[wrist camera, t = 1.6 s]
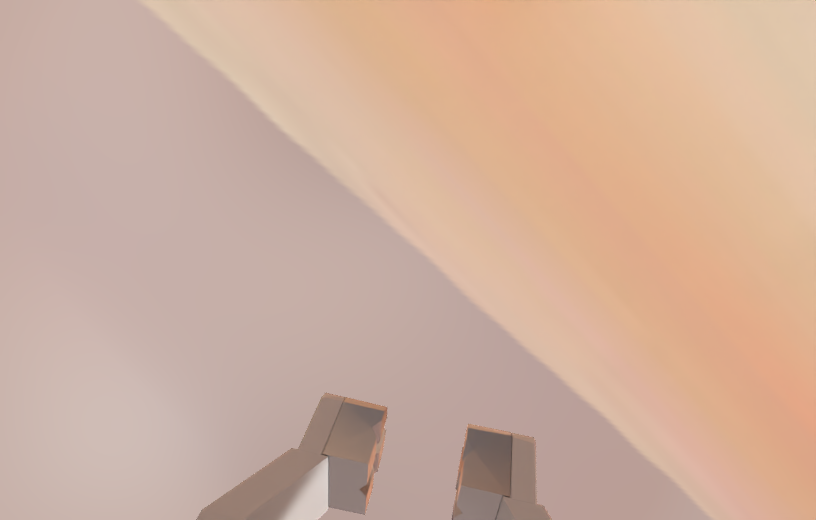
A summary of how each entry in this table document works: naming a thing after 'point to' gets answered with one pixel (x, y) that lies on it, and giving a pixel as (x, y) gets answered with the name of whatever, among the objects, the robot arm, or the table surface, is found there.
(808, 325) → the table surface
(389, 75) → the table surface
